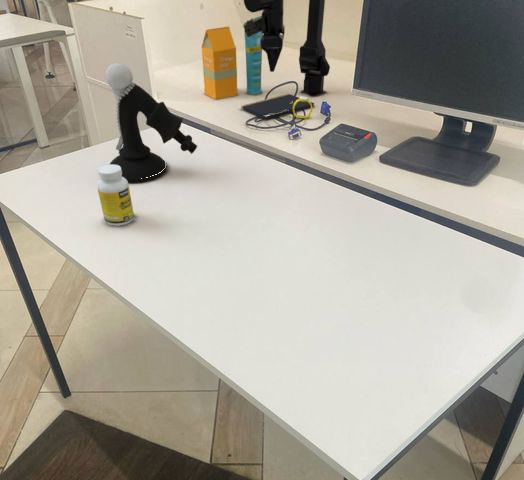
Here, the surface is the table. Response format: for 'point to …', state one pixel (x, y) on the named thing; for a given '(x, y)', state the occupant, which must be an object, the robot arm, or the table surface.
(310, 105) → the watch
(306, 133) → the table surface
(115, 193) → the pill bottle
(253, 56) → the tube
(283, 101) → the dark rectangular board
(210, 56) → the orange juice
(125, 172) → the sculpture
